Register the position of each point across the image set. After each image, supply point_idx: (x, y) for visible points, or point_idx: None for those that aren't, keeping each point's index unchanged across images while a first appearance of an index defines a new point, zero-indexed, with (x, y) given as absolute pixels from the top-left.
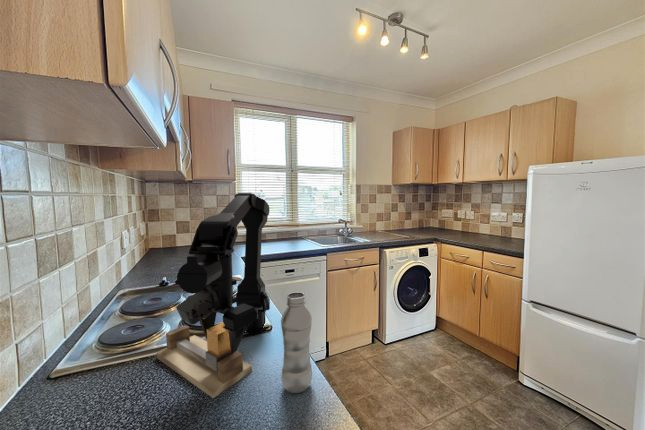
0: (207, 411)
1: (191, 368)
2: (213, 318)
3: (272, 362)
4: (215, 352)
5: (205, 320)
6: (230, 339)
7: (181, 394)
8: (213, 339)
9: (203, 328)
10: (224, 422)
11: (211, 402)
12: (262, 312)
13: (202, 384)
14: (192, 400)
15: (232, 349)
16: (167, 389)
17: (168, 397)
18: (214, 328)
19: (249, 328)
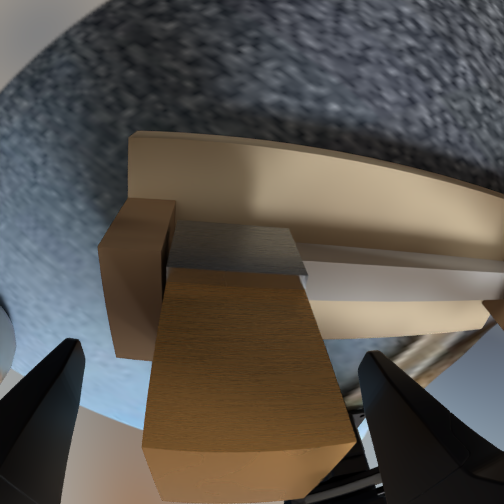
0: (97, 74)
1: (376, 198)
2: (393, 487)
3: (125, 365)
4: (202, 299)
5: (433, 469)
6: (11, 415)
7: (298, 76)
8: (227, 384)
9: (424, 408)
10: (9, 90)
11: (124, 112)
12: None
13: (223, 142)
14: (214, 74)
15: (48, 354)
16: (384, 78)
17: (336, 43)
18: (289, 470)
19: None
